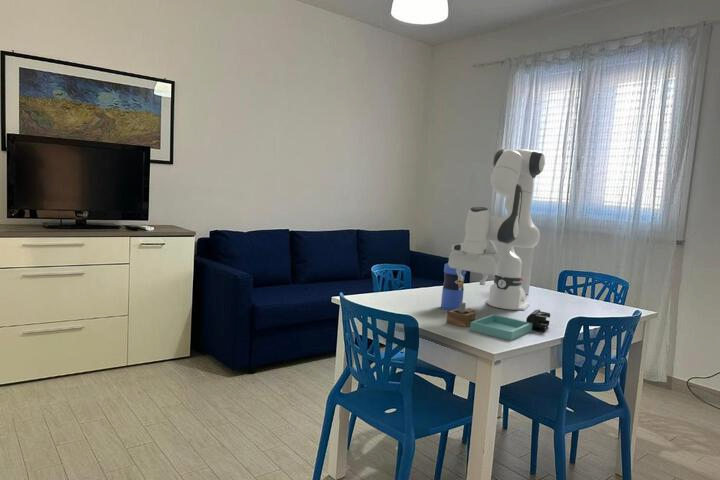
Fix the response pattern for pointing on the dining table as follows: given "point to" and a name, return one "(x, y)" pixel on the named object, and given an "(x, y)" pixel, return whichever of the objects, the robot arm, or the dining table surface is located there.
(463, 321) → the wooden box
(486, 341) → the dining table surface
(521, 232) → the robot arm
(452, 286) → the water bottle
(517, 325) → the tray
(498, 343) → the dining table surface
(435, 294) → the dining table surface
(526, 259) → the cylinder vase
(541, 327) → the black blocky piece
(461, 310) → the stake
